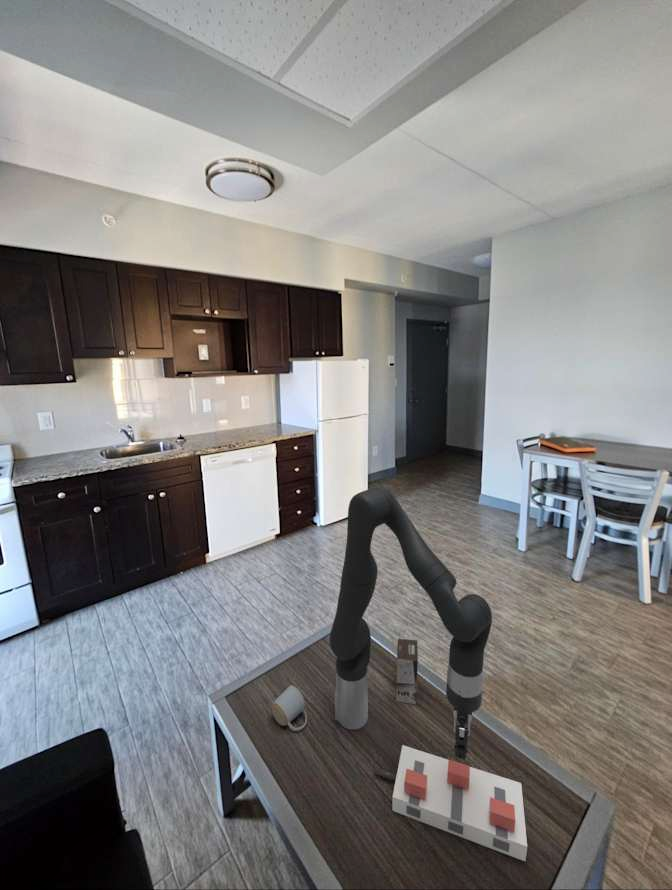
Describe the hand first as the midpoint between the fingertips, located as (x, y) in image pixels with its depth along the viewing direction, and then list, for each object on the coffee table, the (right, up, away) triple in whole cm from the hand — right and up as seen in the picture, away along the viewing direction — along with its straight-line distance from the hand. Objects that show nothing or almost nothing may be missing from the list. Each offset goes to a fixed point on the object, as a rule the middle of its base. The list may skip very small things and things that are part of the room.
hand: (460, 739), depth 88 cm
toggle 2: (+1, -14, +5) cm, 15 cm away
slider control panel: (-2, -19, +6) cm, 20 cm away
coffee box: (-6, -12, +36) cm, 39 cm away
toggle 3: (+8, -16, -3) cm, 18 cm away
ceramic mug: (-42, -15, +28) cm, 53 cm away
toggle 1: (-10, -15, +4) cm, 18 cm away
